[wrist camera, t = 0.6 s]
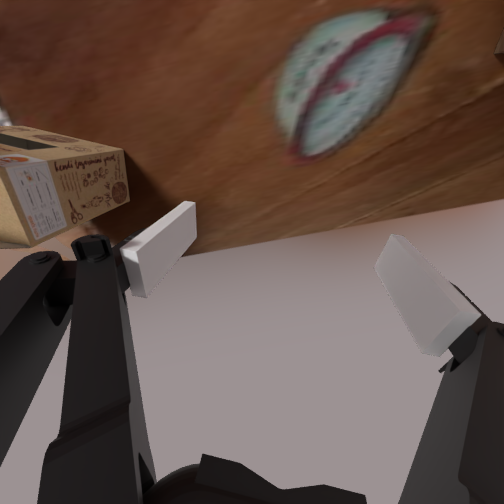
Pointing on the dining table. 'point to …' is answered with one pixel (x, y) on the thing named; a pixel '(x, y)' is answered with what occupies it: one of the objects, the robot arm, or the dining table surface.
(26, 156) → the box
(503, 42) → the pencil case
